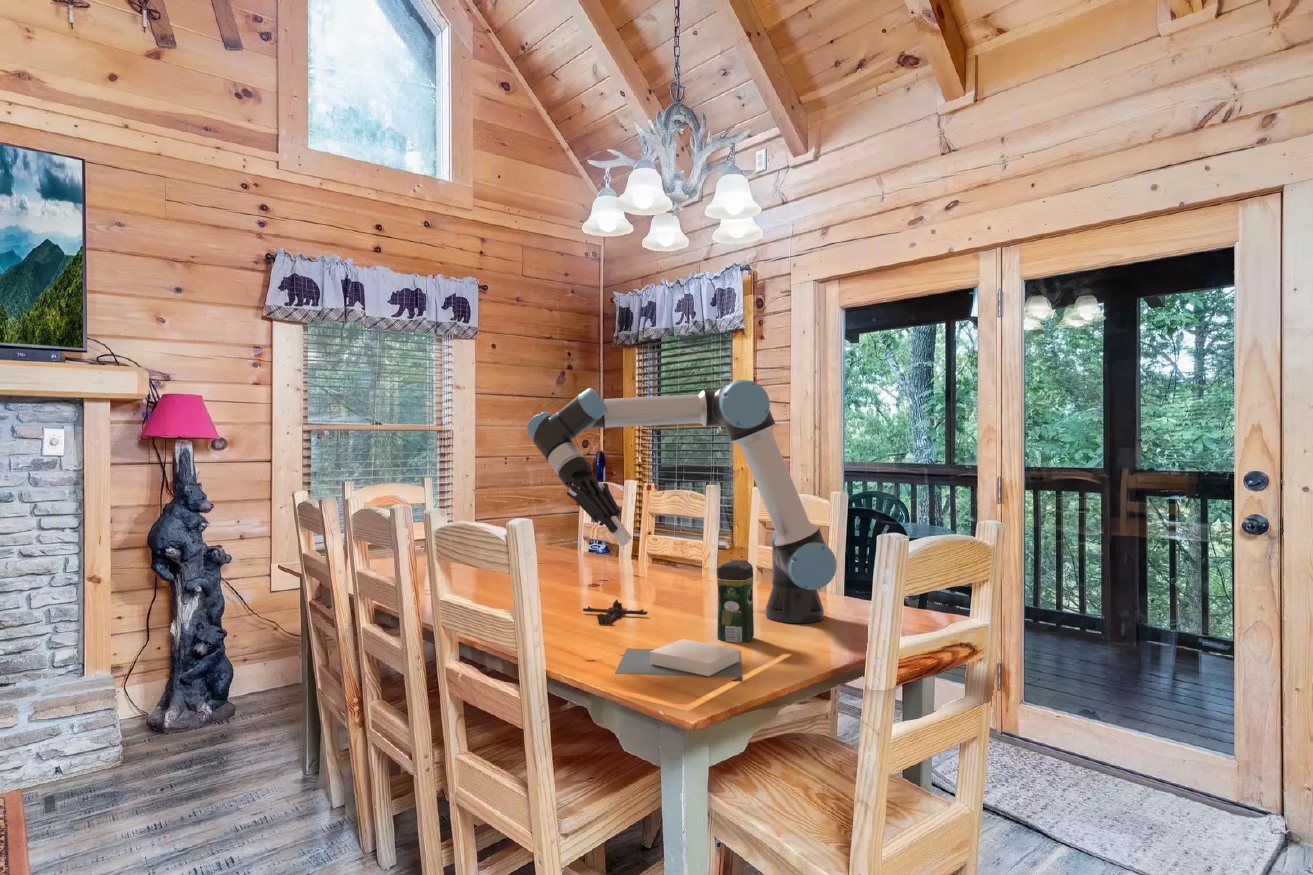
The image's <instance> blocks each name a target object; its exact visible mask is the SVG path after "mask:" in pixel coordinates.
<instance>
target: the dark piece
mask: <svg viewBox="0 0 1313 875" xmlns="http://www.w3.org/2000/svg"><path fill="white" fill-rule="evenodd" d="M622 605H623V603H622V602H619V601H618V599H615V601H614V602H613V603H612V607H611V606H610V607H608V609H607V608H593V607H590V606H588V605H587V607H585V608H582V611H583V612H585V613H598V614H597V615H596V617H597V621H598V625H604V623H605V625H608V624H609V625H611V623H612V622H613V620H615V619H616V618H618V617H619V615H621V614H622V615H623V614H624V615H643V616H644V615H645V616H646V615H647V614H648V611H644V610H645V609H643V608H642V609H640V610H633V609H631V610H628V608H627V607H623V606H622ZM609 625H608V626H609Z"/></svg>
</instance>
